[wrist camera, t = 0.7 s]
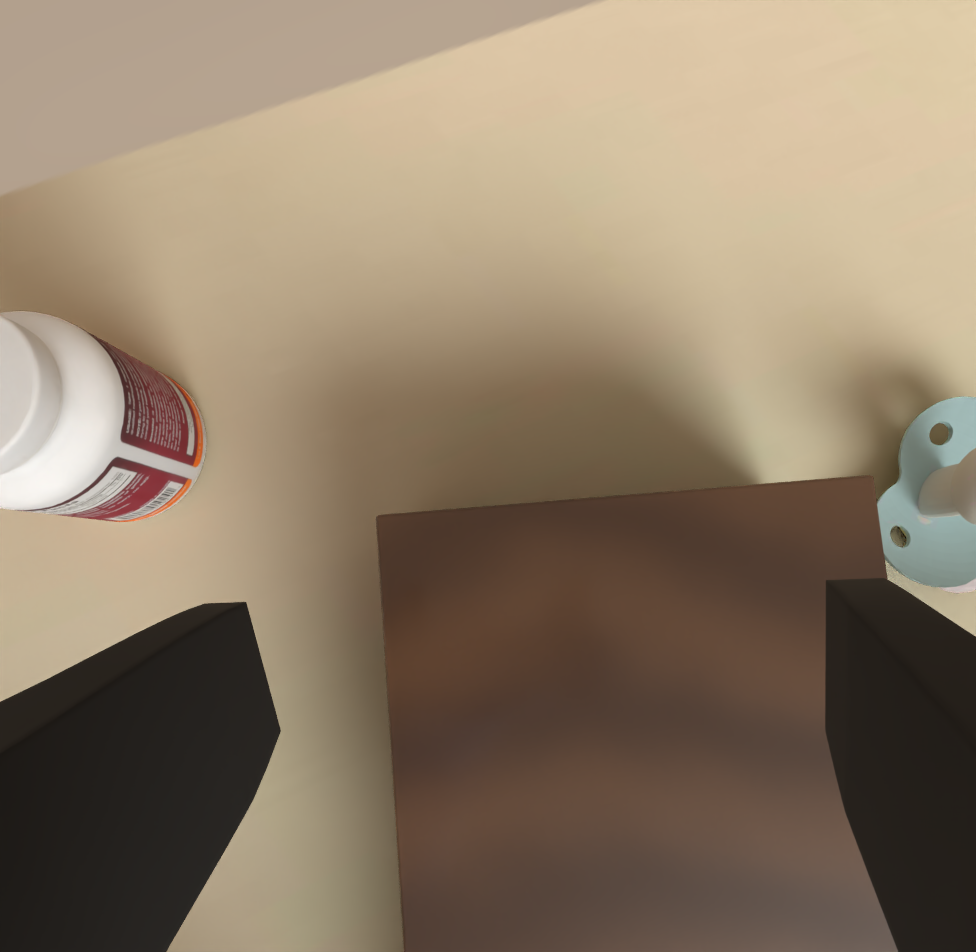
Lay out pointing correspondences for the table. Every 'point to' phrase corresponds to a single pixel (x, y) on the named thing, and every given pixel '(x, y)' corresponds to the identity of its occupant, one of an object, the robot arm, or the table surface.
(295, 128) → the table surface
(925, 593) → the table surface
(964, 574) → the pacifier
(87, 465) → the pill bottle
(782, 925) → the cabinet
